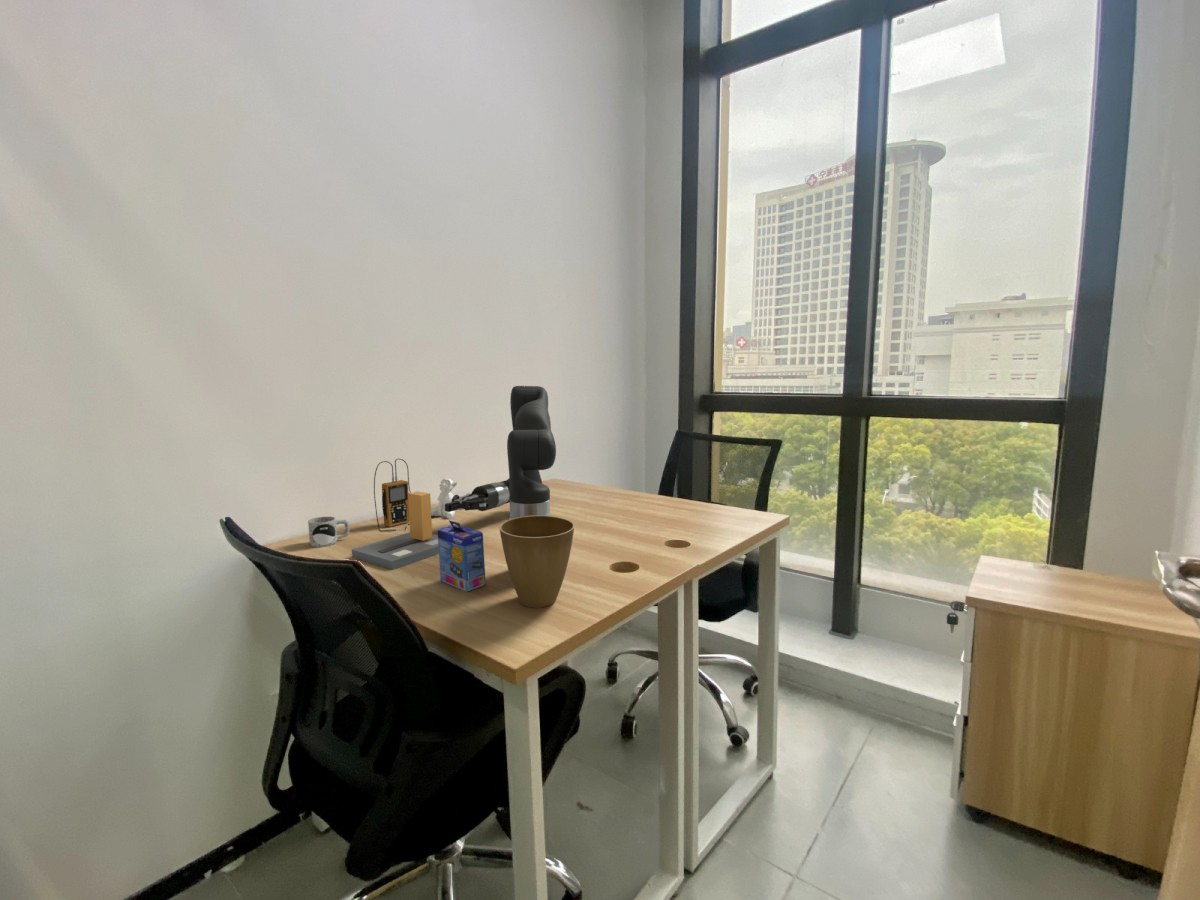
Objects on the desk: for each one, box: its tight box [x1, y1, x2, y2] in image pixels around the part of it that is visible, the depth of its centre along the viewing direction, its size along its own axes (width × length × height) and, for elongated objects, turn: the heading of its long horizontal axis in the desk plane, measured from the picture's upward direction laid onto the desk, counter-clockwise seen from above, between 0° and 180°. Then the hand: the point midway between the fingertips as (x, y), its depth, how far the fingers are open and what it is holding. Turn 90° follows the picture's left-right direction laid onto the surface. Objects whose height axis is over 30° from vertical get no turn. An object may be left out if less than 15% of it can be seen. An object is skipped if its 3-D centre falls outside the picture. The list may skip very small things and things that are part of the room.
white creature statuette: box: [431, 477, 458, 520], centre depth 180 cm, size 10×9×12 cm
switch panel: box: [351, 531, 439, 570], centre depth 144 cm, size 16×20×2 cm
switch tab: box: [408, 491, 433, 541], centre depth 147 cm, size 5×3×12 cm, turn 57°
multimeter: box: [373, 458, 412, 532], centre depth 166 cm, size 15×10×20 cm
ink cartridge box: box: [436, 519, 487, 593], centre depth 122 cm, size 10×6×14 cm, turn 51°
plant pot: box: [499, 515, 575, 608], centre depth 113 cm, size 15×15×16 cm
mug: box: [307, 516, 350, 548], centre depth 152 cm, size 10×7×7 cm, turn 126°
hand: (446, 508), depth 155 cm, fingers closed
